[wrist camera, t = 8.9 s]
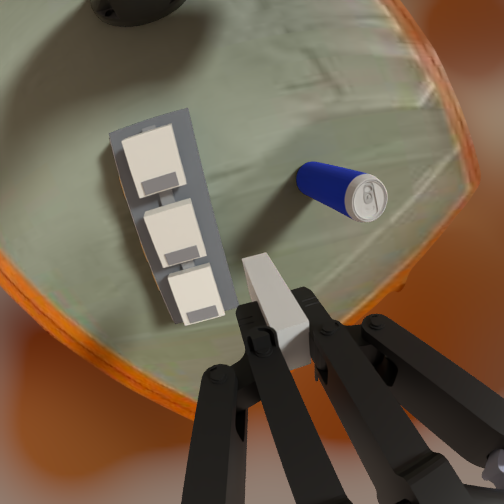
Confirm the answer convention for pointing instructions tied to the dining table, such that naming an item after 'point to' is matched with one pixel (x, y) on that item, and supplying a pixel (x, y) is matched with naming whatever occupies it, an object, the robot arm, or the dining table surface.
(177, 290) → the rocker
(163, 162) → the plate
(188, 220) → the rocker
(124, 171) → the switch console
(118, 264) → the dining table surface
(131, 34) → the dining table surface
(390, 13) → the dining table surface
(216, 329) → the dining table surface
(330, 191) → the beverage can
